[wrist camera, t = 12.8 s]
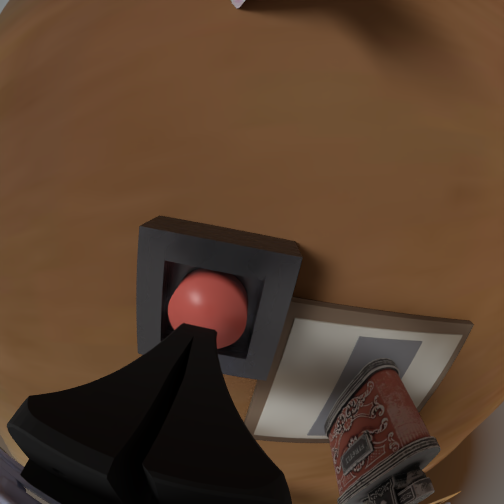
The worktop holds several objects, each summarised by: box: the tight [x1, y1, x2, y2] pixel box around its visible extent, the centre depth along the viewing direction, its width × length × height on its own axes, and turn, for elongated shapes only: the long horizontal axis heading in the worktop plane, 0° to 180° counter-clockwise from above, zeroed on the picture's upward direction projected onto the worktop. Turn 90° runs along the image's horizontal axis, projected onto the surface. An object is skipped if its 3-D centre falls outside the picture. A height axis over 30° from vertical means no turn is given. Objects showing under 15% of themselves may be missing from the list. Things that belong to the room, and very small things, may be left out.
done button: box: [168, 268, 248, 349], centre depth 13 cm, size 4×4×2 cm
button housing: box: [137, 216, 303, 381], centre depth 13 cm, size 7×7×2 cm
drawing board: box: [244, 297, 474, 443], centre depth 16 cm, size 13×15×1 cm
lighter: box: [324, 358, 440, 504], centre depth 11 cm, size 8×3×10 cm, turn 165°
